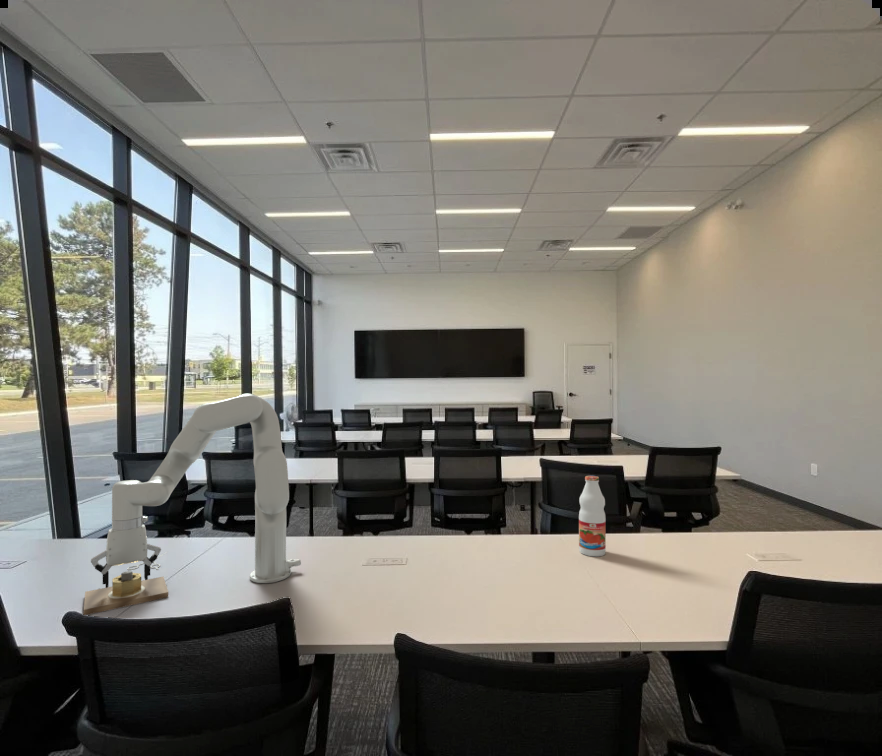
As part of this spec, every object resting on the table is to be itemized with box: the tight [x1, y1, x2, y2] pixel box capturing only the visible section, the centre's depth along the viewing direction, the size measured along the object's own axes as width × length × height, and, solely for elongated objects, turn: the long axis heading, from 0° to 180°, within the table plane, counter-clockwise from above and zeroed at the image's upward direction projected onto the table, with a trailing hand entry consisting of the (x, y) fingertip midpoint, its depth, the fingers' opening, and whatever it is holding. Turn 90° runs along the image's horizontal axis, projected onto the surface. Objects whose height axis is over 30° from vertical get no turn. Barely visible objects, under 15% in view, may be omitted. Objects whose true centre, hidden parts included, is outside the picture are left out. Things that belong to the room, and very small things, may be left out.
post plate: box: [83, 570, 169, 616], centre depth 143 cm, size 20×14×7 cm
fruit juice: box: [578, 475, 607, 557], centre depth 181 cm, size 9×9×28 cm
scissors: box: [126, 551, 168, 571], centre depth 173 cm, size 11×1×20 cm
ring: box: [111, 572, 142, 597], centre depth 143 cm, size 7×7×4 cm
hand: (126, 582), depth 143 cm, fingers open, 9 cm apart
